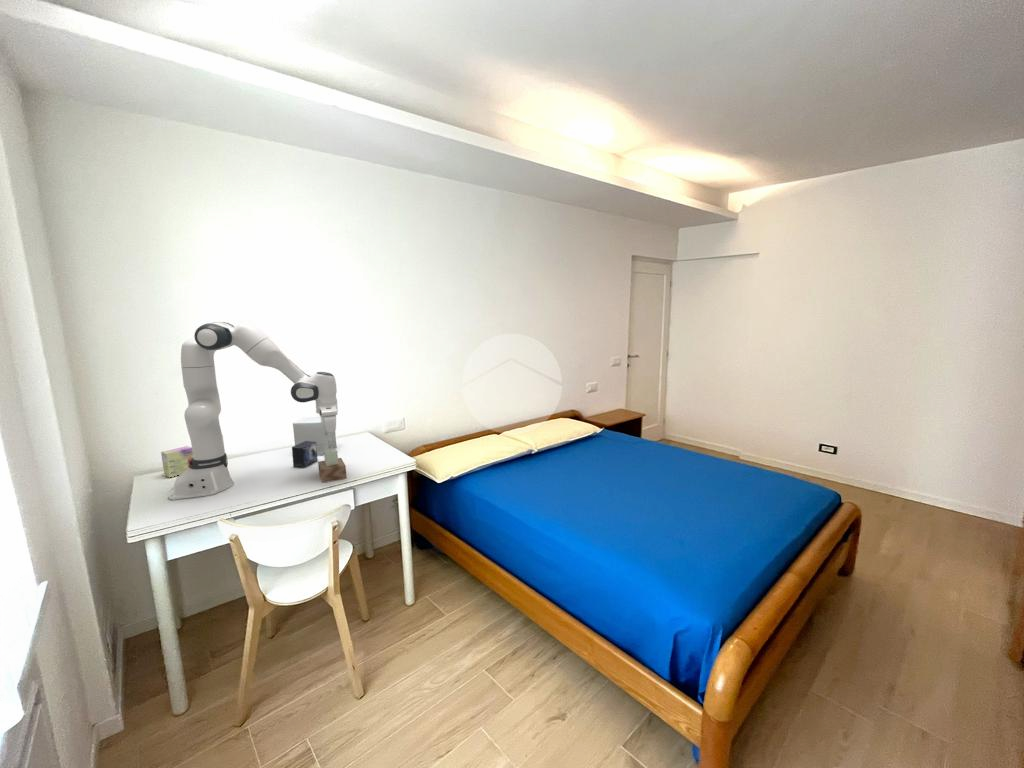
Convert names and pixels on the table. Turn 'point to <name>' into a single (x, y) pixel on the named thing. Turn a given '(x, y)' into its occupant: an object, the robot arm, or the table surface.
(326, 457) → the sage block
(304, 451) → the small box
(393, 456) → the table surface
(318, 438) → the supplement box
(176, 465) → the box
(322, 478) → the walnut block
